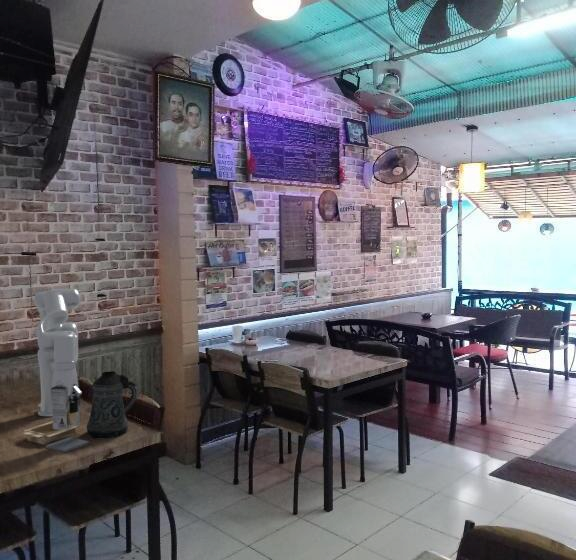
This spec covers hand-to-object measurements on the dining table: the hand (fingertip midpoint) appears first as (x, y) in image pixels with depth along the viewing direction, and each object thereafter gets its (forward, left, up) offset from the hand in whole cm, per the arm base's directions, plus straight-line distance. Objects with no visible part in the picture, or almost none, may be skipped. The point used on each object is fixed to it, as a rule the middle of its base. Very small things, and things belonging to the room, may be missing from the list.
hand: (66, 411), depth 215 cm
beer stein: (+2, +20, -14) cm, 24 cm away
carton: (-14, +4, -13) cm, 20 cm away
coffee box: (0, 0, -6) cm, 6 cm away
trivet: (0, 0, -13) cm, 13 cm away
